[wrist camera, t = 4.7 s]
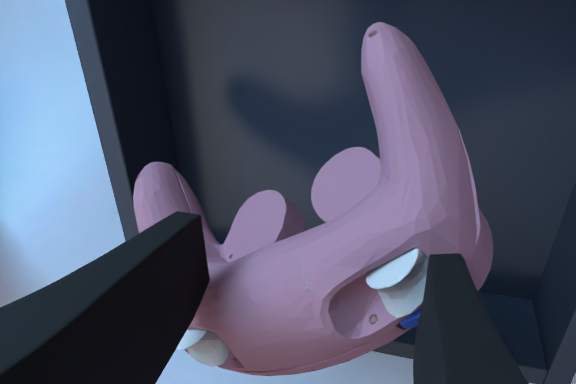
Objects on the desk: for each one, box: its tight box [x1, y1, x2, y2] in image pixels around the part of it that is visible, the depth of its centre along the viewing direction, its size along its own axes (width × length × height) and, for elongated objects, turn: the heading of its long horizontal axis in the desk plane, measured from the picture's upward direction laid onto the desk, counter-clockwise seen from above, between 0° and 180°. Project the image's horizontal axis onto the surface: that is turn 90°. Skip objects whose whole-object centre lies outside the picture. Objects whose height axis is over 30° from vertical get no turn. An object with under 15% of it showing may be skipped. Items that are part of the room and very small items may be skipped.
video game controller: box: [133, 22, 493, 376], centre depth 13 cm, size 10×5×7 cm, turn 126°
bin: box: [65, 0, 576, 384], centre depth 16 cm, size 17×16×4 cm
